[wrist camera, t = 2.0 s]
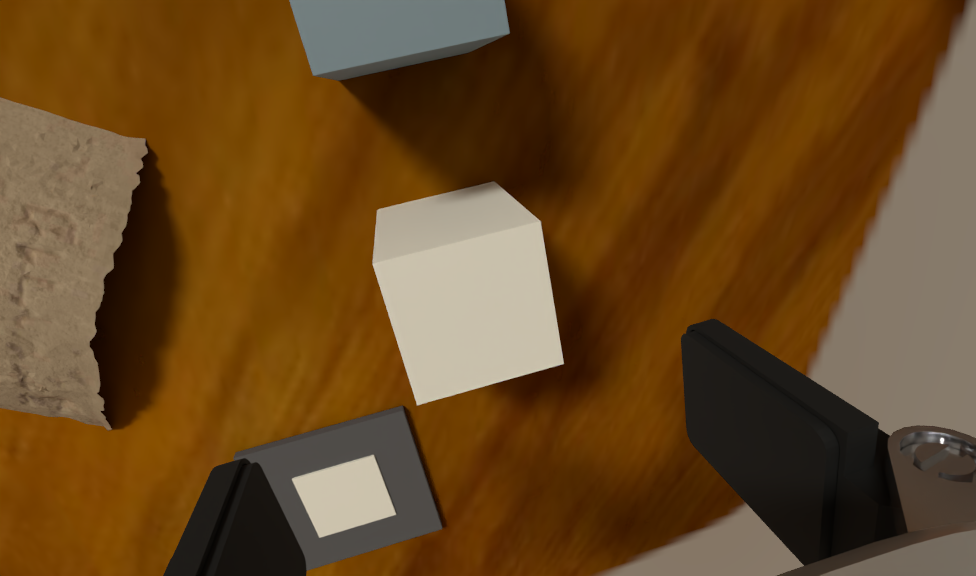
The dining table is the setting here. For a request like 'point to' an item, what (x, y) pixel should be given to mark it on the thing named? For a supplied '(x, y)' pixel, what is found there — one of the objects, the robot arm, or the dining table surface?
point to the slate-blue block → (392, 32)
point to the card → (350, 486)
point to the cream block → (466, 290)
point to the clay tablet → (57, 255)
